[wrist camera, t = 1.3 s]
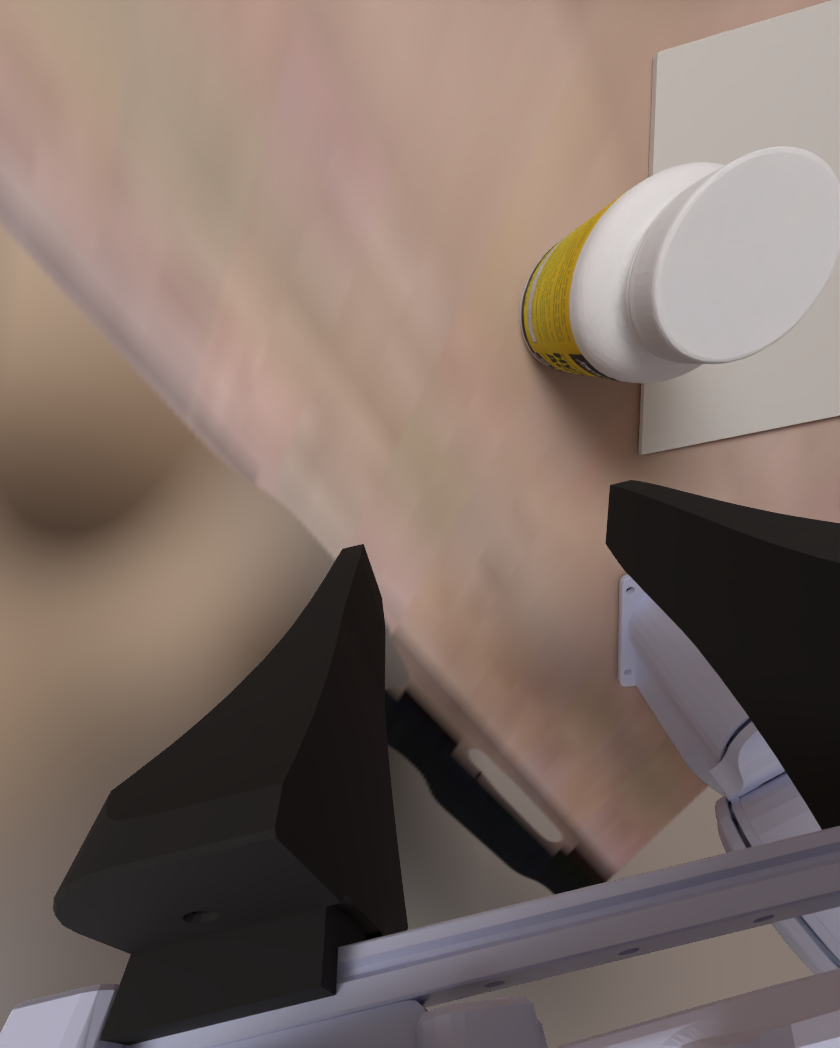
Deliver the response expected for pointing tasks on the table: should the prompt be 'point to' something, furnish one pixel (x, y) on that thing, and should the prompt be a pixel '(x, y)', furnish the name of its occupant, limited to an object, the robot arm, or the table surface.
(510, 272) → the table surface
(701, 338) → the supplement bottle
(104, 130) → the table surface
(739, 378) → the grey mat
